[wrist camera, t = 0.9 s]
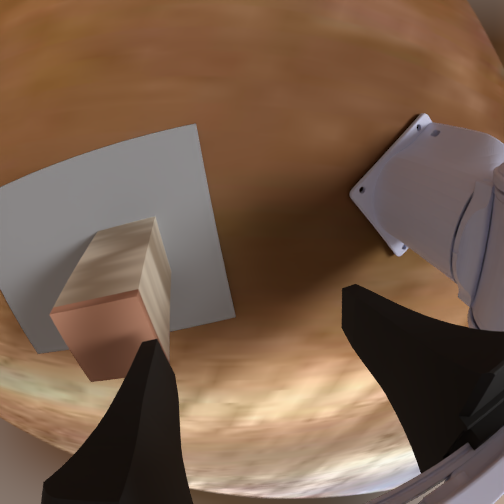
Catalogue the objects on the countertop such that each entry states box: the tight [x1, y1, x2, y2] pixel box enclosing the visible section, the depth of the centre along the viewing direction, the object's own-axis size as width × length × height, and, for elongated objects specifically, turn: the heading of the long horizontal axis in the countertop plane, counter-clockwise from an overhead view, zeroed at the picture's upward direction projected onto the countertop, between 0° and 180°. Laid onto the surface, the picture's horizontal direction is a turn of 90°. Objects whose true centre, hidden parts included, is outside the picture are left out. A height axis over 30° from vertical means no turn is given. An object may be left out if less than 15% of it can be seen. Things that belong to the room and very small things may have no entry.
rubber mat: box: [0, 124, 236, 354], centre depth 19 cm, size 18×14×1 cm
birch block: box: [49, 216, 171, 382], centre depth 15 cm, size 4×4×9 cm
